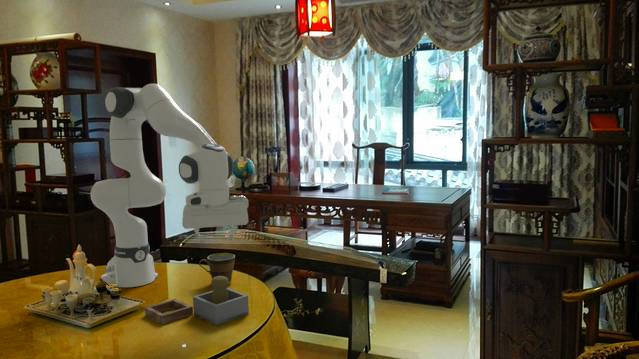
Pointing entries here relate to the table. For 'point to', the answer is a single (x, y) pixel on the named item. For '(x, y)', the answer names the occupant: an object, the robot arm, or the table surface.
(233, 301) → the bin
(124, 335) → the table surface
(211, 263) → the ceramic cup
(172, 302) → the socket collar
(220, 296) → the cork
